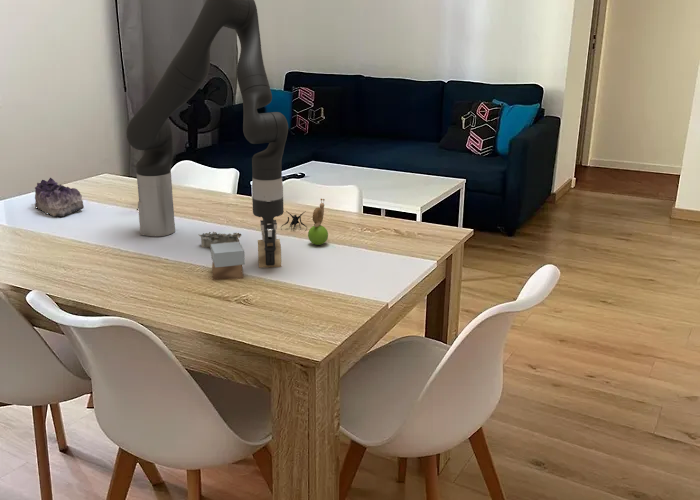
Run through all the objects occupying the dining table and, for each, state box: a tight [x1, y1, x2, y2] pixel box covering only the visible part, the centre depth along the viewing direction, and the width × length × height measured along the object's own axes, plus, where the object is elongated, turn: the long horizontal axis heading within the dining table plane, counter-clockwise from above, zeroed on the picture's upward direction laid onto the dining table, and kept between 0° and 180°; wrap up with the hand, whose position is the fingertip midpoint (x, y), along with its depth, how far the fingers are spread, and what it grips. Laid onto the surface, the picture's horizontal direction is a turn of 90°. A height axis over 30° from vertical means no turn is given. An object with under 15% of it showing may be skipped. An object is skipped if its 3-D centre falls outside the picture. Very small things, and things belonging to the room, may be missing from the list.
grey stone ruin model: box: [198, 231, 242, 249], centre depth 194 cm, size 10×7×4 cm
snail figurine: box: [307, 198, 329, 246], centre depth 195 cm, size 5×6×12 cm
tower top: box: [210, 241, 246, 267], centre depth 174 cm, size 7×7×4 cm
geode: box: [34, 177, 85, 218], centre depth 225 cm, size 20×12×10 cm, turn 49°
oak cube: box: [257, 238, 282, 269], centre depth 181 cm, size 6×6×6 cm
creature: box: [280, 210, 308, 232], centre depth 210 cm, size 8×5×8 cm
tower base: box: [211, 261, 244, 281], centre depth 175 cm, size 7×7×4 cm
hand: (269, 260), depth 182 cm, fingers closed on oak cube, 5 cm apart
